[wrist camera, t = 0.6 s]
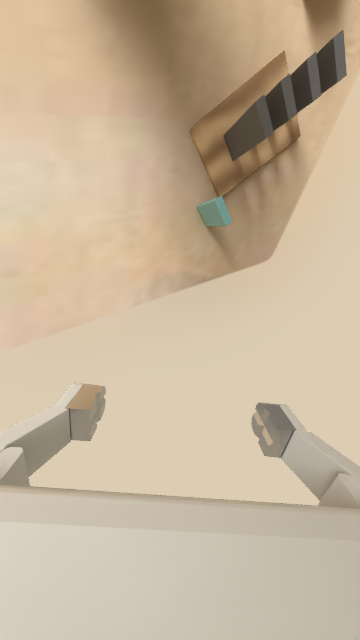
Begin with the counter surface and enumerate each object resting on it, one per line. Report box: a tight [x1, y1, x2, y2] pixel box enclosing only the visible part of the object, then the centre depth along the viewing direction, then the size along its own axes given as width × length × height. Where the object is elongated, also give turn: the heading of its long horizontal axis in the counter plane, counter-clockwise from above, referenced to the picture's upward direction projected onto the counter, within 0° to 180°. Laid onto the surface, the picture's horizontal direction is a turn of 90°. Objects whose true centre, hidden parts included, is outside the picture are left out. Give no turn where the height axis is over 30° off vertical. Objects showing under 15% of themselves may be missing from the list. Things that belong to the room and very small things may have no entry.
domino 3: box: [265, 74, 297, 131], centre depth 34 cm, size 5×2×12 cm, turn 34°
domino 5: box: [316, 30, 347, 94], centre depth 33 cm, size 5×2×12 cm, turn 34°
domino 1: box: [197, 196, 232, 226], centre depth 40 cm, size 5×2×12 cm, turn 34°
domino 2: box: [223, 95, 274, 161], centre depth 34 cm, size 5×2×12 cm, turn 34°
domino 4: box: [290, 52, 321, 113], centre depth 33 cm, size 5×2×12 cm, turn 34°
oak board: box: [190, 51, 300, 197], centre depth 40 cm, size 14×22×1 cm, turn 124°
